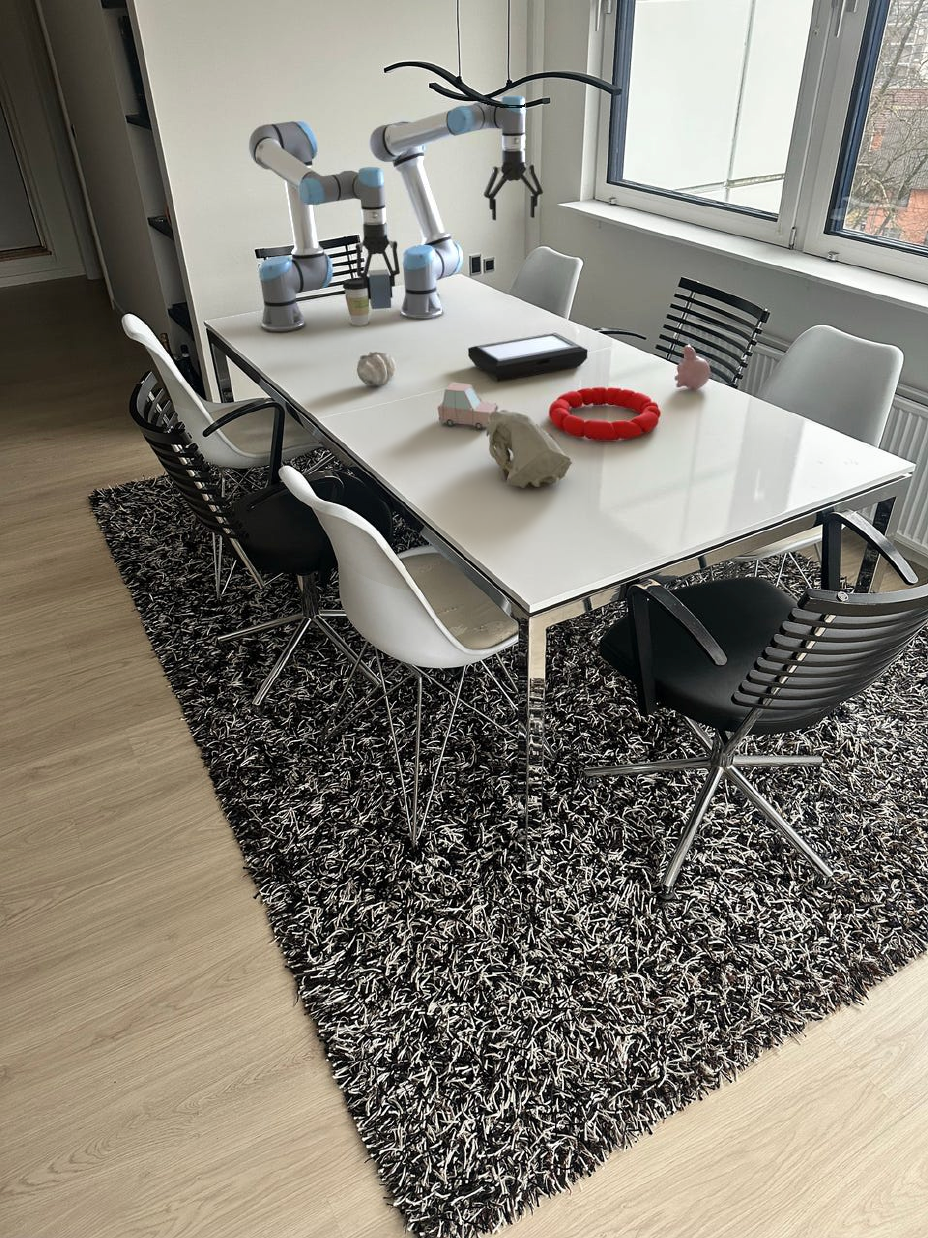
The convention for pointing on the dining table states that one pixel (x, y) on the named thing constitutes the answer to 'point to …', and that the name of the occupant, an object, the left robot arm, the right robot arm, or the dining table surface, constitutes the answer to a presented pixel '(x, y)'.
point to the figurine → (692, 370)
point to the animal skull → (525, 450)
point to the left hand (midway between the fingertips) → (380, 297)
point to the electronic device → (527, 356)
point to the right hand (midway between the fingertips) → (513, 218)
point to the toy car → (465, 406)
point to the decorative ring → (604, 428)
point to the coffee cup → (357, 301)
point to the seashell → (375, 368)
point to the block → (379, 289)
